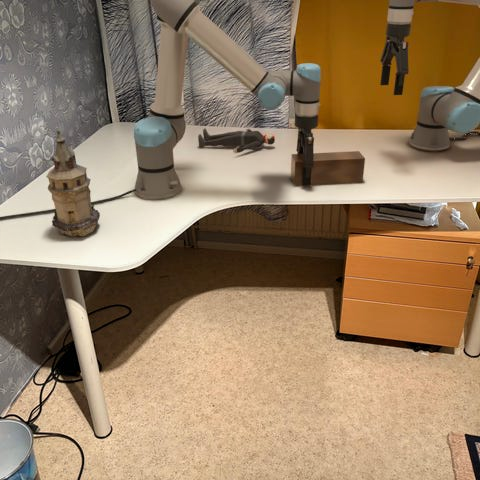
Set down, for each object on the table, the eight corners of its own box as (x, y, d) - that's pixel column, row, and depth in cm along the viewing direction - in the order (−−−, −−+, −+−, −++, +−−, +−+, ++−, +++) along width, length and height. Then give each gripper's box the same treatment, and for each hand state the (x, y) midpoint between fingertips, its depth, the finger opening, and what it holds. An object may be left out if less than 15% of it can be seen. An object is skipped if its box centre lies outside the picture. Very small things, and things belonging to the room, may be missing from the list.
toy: (208, 122, 226) (279, 122, 220) (210, 136, 230) (279, 136, 223) (191, 142, 204) (269, 142, 198) (193, 157, 207) (270, 158, 201)
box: (294, 186, 180) (295, 161, 176) (290, 178, 186) (291, 154, 182) (362, 182, 182) (365, 158, 178) (356, 174, 188) (359, 151, 184)
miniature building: (80, 214, 164) (63, 117, 149) (111, 225, 157) (96, 125, 142) (44, 231, 154) (22, 130, 140) (75, 244, 147) (55, 139, 133)
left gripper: (326, 124, 163) (321, 191, 174) (311, 104, 182) (308, 166, 193) (301, 125, 162) (298, 192, 173) (289, 105, 181) (287, 167, 192)
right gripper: (425, 28, 161) (415, 98, 171) (397, 17, 182) (389, 80, 193) (401, 28, 160) (392, 99, 171) (375, 18, 182) (369, 81, 192)
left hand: (303, 179), depth 183 cm, fingers open, 9 cm apart
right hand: (390, 89), depth 182 cm, fingers open, 13 cm apart
